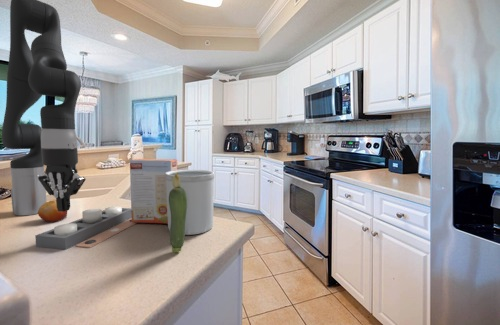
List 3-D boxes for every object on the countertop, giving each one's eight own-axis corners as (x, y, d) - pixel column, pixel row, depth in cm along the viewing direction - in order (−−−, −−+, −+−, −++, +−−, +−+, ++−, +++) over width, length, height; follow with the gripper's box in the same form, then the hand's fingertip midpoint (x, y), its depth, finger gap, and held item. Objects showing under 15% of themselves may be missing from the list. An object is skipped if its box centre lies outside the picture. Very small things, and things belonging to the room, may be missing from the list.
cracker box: (179, 219, 86) (178, 158, 84) (171, 224, 80) (170, 160, 78) (140, 217, 87) (139, 158, 85) (130, 222, 81) (129, 159, 79)
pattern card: (75, 246, 64) (75, 245, 64) (132, 218, 87) (132, 217, 87) (90, 247, 63) (90, 246, 63) (143, 219, 86) (143, 218, 86)
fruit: (79, 212, 89) (65, 196, 84) (60, 230, 83) (44, 213, 78) (63, 210, 91) (49, 194, 87) (43, 227, 85) (28, 211, 81)
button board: (36, 246, 64) (35, 235, 64) (111, 215, 90) (111, 207, 90) (65, 249, 62) (64, 238, 62) (134, 216, 89) (133, 208, 88)
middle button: (78, 222, 74) (78, 212, 74) (92, 217, 79) (91, 208, 79) (93, 224, 73) (92, 213, 73) (105, 218, 78) (105, 209, 78)
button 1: (49, 240, 65) (49, 228, 65) (67, 233, 70) (66, 222, 70) (66, 241, 64) (65, 230, 64) (82, 234, 69) (81, 223, 69)
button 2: (102, 218, 83) (101, 209, 83) (112, 214, 88) (112, 206, 88) (115, 219, 82) (114, 210, 82) (125, 215, 87) (124, 206, 87)
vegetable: (172, 247, 64) (170, 170, 62) (189, 247, 64) (188, 170, 62) (168, 255, 59) (165, 173, 57) (186, 255, 60) (184, 172, 58)
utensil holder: (154, 231, 74) (154, 173, 72) (184, 217, 87) (184, 167, 86) (197, 239, 68) (198, 177, 67) (221, 223, 82) (222, 171, 81)
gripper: (23, 146, 62) (29, 213, 64) (68, 147, 60) (72, 216, 62) (52, 145, 70) (56, 205, 72) (93, 146, 67) (96, 208, 69)
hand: (63, 210), depth 67 cm, fingers closed
